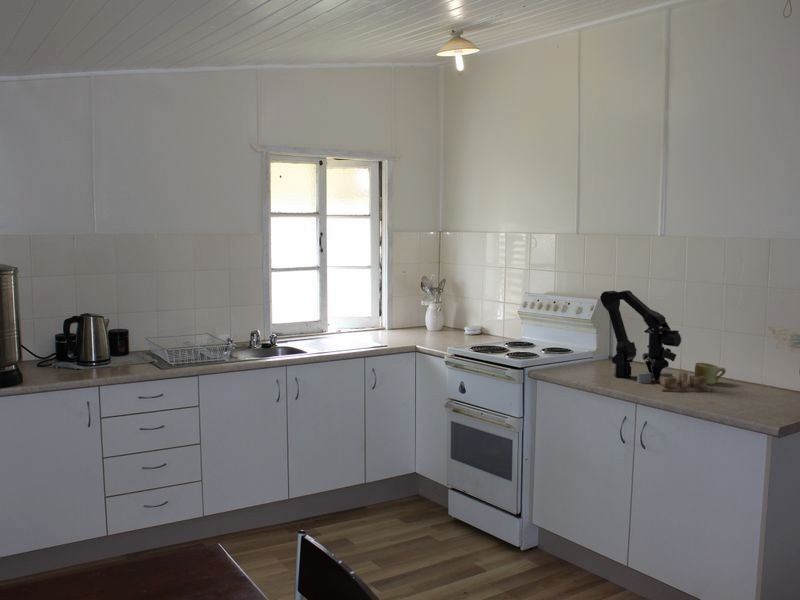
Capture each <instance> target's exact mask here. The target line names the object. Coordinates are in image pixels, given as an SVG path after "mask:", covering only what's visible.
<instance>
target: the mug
mask: <svg viewBox="0 0 800 600" xmlns="http://www.w3.org/2000/svg"><path fill="white" fill-rule="evenodd" d="M720 372H721V373H720ZM726 372H727V370H726V368H724V367H719V366H718V365H716V364H712V363H709V362H708V363H707V362H696V363H695V366H694V376H703V377H705V378H706V379H707V386H708V385H709V386H710V385H715V384H717V383H718V381H719V380H720V378H722V377H723V376H724V375H725V374H726ZM719 373H720V374H719ZM718 374H719V375H718Z"/></svg>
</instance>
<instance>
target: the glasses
mask: <svg viewBox="0 0 800 600" xmlns="http://www.w3.org/2000/svg"><path fill="white" fill-rule="evenodd" d="M636 373H637V380H636V382H637V383H639V384H652V378H651V377H654V376H653V373H649V372H636ZM660 376H673V373H672V372H661V373H660ZM660 376H659V379H658V381H657V382H658V383H659V382H660Z"/></svg>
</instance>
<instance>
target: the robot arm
mask: <svg viewBox="0 0 800 600" xmlns="http://www.w3.org/2000/svg"><path fill="white" fill-rule="evenodd" d="M621 300H622V301H623V302H625V303H626V304H628V306H630V307H631V308H632V309H633V310H634V312H636V313H637V314H639V315H640V317H641V318H642V320H643V322H644V323H645V324H646V326H647V328H646V330H644V332H643V333H645V334H648V344H647V345H646V346H647V347H646V348H647V349H648V351H647V352H644V353H643V354H642V355H641V357H642V360H643V361H644V364H645V367H646V368H647V370H648V373H653V376H654V377H651V379H654V381H655V382H658V379H659V376H660V373H662V370H664V369H665V368H668V367H669V366H670V365H669V363H670V362H669V361H668V360H670V361H671V362H675V360H676V357H677V354H676V353H674V352H672V349H670V348H668V347H666V348H665V346H669V347H677V348H678V347H679V346H680V345H681V343H682V337H681V334H680V333H679V332H680V330H676V329H675V330H671V327H670V326H669V324H668V323H667V320H666V317H665V316H664V315H663V314H662V313H660V312H658V311H656V310H653V309H651V308H650V307H649V306H647V304H645V303H644V302H643V301H641V300H640V298H638V297H637V296H636V295H635V294H634V293H633V292H632V291H631V290H630V289H629V290H627V289H626V290H622V291H617V290H607V291H602V293H601V295H600V302H601V303H602V306H603V307H604V308H605V309H606V311H607V312H608V316H609V318H610V319H609V320H610V322H611V325H612V329H613V332H614V336H615V339H616V347H615V353H616V354H615V355H614V356H612V358H611V362H612V364H614V369H613V371H614V373H613V376H614V377H615V378H632V366H631V363H633V362H634V359H635V357H636V356H637V351H638V349H637V348H636V343H635V342H634V341H632V342H631V341H630V340H629V337H628V334H627V332H626V328H625V325H624V324H625V323H624V320H623V318H622V314H621V311H620V305H621Z"/></svg>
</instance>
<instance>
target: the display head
mask: <svg viewBox="0 0 800 600" xmlns="http://www.w3.org/2000/svg"><path fill="white" fill-rule="evenodd" d="M688 375H689V374H688V372H686V371H679V377H678V379H679V380H678V379H677V377H675V376H674V375H672V376H660V383H655V388H656V389H658V390H660V391H661V392H681V393H683V392H685V393H686V392H690V393H691V392H692V393H693V392H696V393H697V392H698V393H699V392H700V393H701V392H707V393H708V392H709V393H711V392H712V388H710V387H709V386H708V384H707V379H706V378H705V377H703V376H695V375H689V377H688ZM688 378H689V383H688ZM678 381H679V383H678Z"/></svg>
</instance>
